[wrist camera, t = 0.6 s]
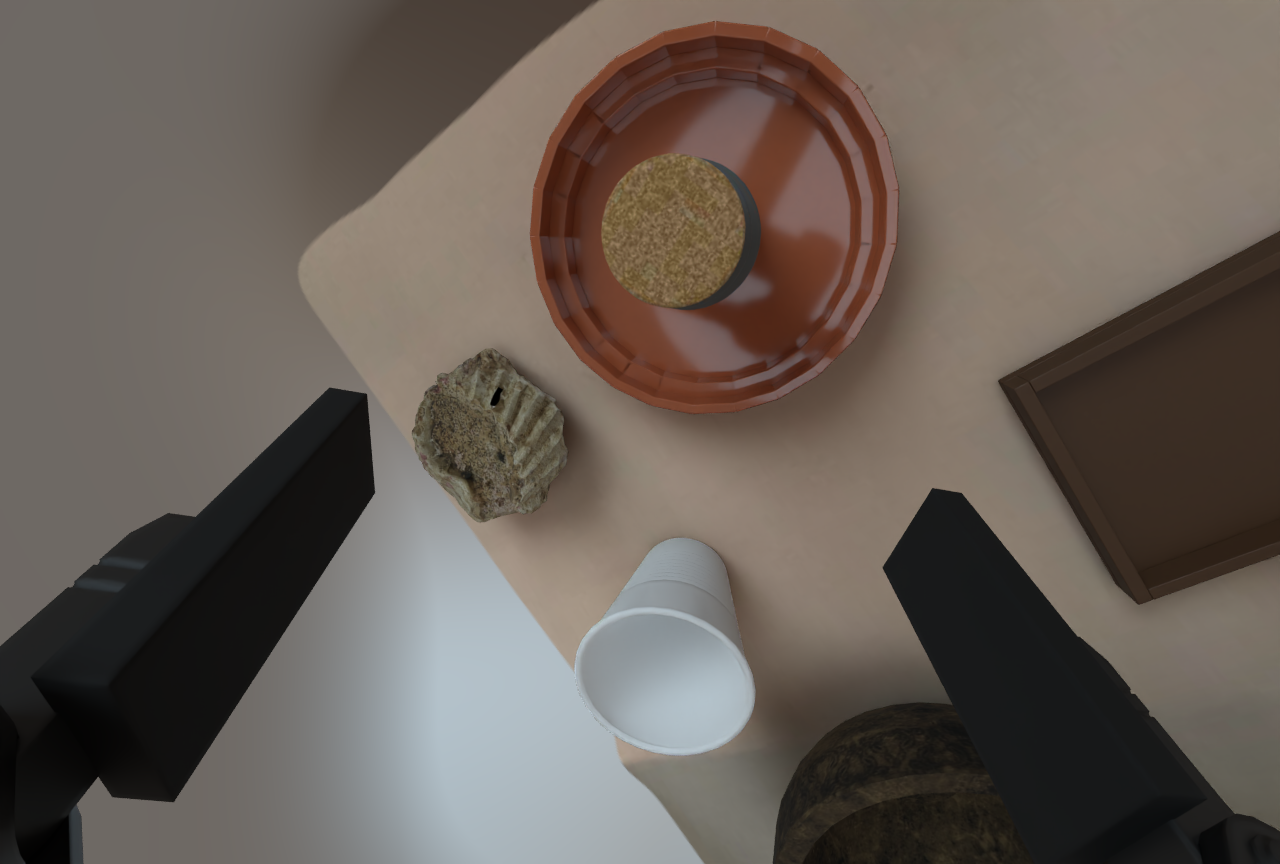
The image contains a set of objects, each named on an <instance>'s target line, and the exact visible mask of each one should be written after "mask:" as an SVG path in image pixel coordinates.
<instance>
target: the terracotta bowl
mask: <svg viewBox="0 0 1280 864" xmlns="http://www.w3.org/2000/svg"><path fill="white" fill-rule="evenodd" d="M668 153H680V154H687V155H691V156H695V157H699V158H704V159H708V160H711V161H714V162H717V163H720V164H722V165H723V166H725V167H727V168H728V169H730V170H731V171H733V172H734V173H735V174H736V175H737V176H738V177H739V178H740V179H741V180H742V181H743V182H744V183H745V185H746V186H747V188H748V189H749V191H750V192H751V194H752V196H753V198H754V200H755V203H756V205H757V208H758V212H759V216H760V223H761V240H760V247H759V251H758V255H757V258H756V261H755V263H754V266H753V268H752V269H751V271H750V273H749V274H748V276H747V277H746V279H745V280H744V282H743V283H742V284H741V285H740V287H738V288H737V289H736V290H735V291H734V292H733V293H732V294H731V295H729V296H728V297H727V298H725V299H724V300H722V301H720V302H718V303H716V304H713V305H711V306H708V307H705V308H701V309H695V310H679V309H673V308H664V307H658V306H654V305H651V304H648V303H645V302H643V301H641V300H639V299H637V298H636V297H634V296H633V295H632V294H630V293H629V292H628V291H627V290H625V289H624V288H623V287H622V286H621V284H620V283H619V282H618V281H617V279H616V278H615V277H614V275H613V273H612V272H611V270H610V268H609V265H608V263H607V261H606V258H605V254H604V250H603V245H602V235H601V231H602V220H603V215H604V211H605V207H606V204H607V202H608V199H609V197H610V195H611V193H612V192H613V190H614V188H615V187H616V185H617V183H618V182H619V181H620V180H621V179H622V178H623V177H624V176H625V175H626V174H627V173H628V172H629V171H630V170H631V169H632V168H633V167H635V166H636V165H638V164H640V163H641V162H643V161H645V160H647V159H649V158H652V157H656V156H659V155H664V154H668ZM898 189H899V185H898V181H897V177H896V172H895V168H894V164H893V160H892V155H891V151H890V147H889V143H888V138H887V135H886V133H885V131H884V130H883V128H882V126H881V124H880V123H879V121H878V119H877V117H876V116H875V114H874V112H873V110H872V109H871V107H870V105H869V103H868V102H867V100H866V98H865V96H864V95H863V93H862V91H861V89H860V88H858V85H857V84H855V83H854V82H853V81H852V80H851V79H850V78H849V77H848V76H847V75H846V74H845V73H844V72H842V71H841V70H840V69H839V68H838V67H837V66H836V65H835V64H834V63H833V62H832V61H831V60H829V59H828V58H827V57H826V56H825V55H824V54H823V53H822V52H821V51H819V50H818V49H817V48H814V47H812V46H810V45H808V44H806V43H803V42H801V41H799V40H797V39H795V38H792V37H790V36H788V35H786V34H784V33H781V32H779V31H777V30H775V29H773V28H771V27H765V26H756V25H747V24H738V23H729V22H720V21H716V22H715V21H713V22H708V23H703V24H698V25H693V26H688V27H683V28H678V29H673V30H668V31H664V32H663V33H659V34H657V35H656V36H654V37H652V38H650V39H648V40H646V41H644V42H642V43H641V44H639V45H637V46H635V47H633V48H631V49H629V50H628V51H626V52H624V53H622V54H620V55H618V56H616V58H614V59H613V60H612V61H611V62H609V63H608V64H607V65H606V66H605V67H604V68H603V69H602V70H601V71H600V72H599V73H598V74H597V75H596V76H595V77H594V78H593V79H592V80H591V81H590V82H589V83H588V84H587V85H585V86H584V87H583V88H582V89H581V90H580V91H579V92H578V93H577V95H575V97H574V99H573V100H572V102H571V104H570V105H569V107H568V108H567V110H566V112H565V113H564V115H563V117H562V118H561V120H560V121H559V123H558V125H557V126H556V128H555V130H554V131H553V133H552V134H551V136H550V138H549V140H548V144H547V147H546V150H545V153H544V156H543V159H542V162H541V165H540V169H539V172H538V175H537V178H536V181H535V184H534V188H533V202H532V215H531V228H530V240H531V246H532V252H533V259H534V265H535V271H536V278H537V282H538V285H539V288H540V290H541V293H542V295H543V298H544V300H545V302H546V305H547V307H548V310H549V312H550V315H551V317H552V319H553V322H554V324H555V326H556V327H557V328H558V330H559V331H560V332H561V334H562V335H563V337H564V338H565V339H566V341H567V342H568V343H569V345H570V346H571V348H572V349H573V350H574V352H575V353H576V355H577V356H578V357H579V359H581V361H583V362H584V363H585V364H586V365H587V366H588V367H590V368H591V369H592V370H593V371H594V372H596V373H597V374H598V375H599V376H600V377H601V378H603V379H604V380H605V381H606V382H607V383H609V384H610V385H611V386H613V387H614V388H616V389H618V390H620V391H622V392H624V393H626V394H628V395H630V396H632V397H634V398H636V399H638V400H640V401H642V402H644V403H646V404H649V405H651V406H655V407H660V408H665V409H670V410H675V411H679V412H684V413H689V414H692V413H693V414H707V413H728V412H738V411H741V410H745V409H748V408H751V407H755V406H758V405H761V404H764V403H768V402H771V401H774V400H778V399H780V398H782V397H783V396H785V395H787V394H788V393H790V392H792V391H793V390H795V389H797V388H798V387H800V386H802V385H803V384H805V383H807V382H808V381H810V380H812V379H813V378H815V377H817V376H818V375H819V374H821V373H822V372H823V371H824V370H825V369H826V368H827V367H828V366H829V365H830V364H831V363H832V362H833V361H834V360H835V359H836V358H837V357H838V356H839V355H840V354H841V353H842V352H843V351H844V350H845V349H846V348H847V347H848V346H849V345H850V344H851V343H852V342H853V341H854V339H856V337H857V335H858V334H859V332H860V330H861V329H862V327H863V325H864V324H865V322H866V320H867V319H868V317H869V315H870V314H871V312H872V310H873V309H874V307H875V306H876V304H877V302H878V301H879V299H880V297H881V295H882V292H883V289H884V286H885V282H886V279H887V276H888V273H889V269H890V266H891V263H892V259H893V256H894V253H895V250H896V246H897V235H898V209H899V190H898Z"/></svg>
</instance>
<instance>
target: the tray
mask: <svg viewBox="0 0 1280 864" xmlns="http://www.w3.org/2000/svg"><path fill="white" fill-rule="evenodd" d="M998 382H999V384H1000V386H1001V387H1002V389H1003V391H1004V392H1005V394H1006V396H1007V398H1008V399H1009V401H1010V403H1011V404H1012V406H1013V408H1014V410H1015V411H1016V413H1017V415H1018V417H1019V418H1020V420H1021V422H1022V423H1023V425H1024V427H1025V429H1026V430H1027V432H1028V434H1029V435H1030V437H1031V439H1032V441H1033V442H1034V444H1035V446H1036V447H1037V449H1038V451H1039V453H1040V454H1041V456H1042V458H1043V459H1044V461H1045V463H1046V465H1047V466H1048V468H1049V470H1050V471H1051V473H1052V475H1053V477H1054V478H1055V480H1056V482H1057V483H1058V485H1059V487H1060V489H1061V490H1062V492H1063V494H1064V495H1065V497H1066V499H1067V501H1068V502H1069V504H1070V506H1071V508H1072V509H1073V511H1074V513H1075V514H1076V516H1077V518H1078V520H1079V521H1080V523H1081V525H1082V526H1083V528H1084V530H1085V532H1086V533H1087V535H1088V537H1089V538H1090V540H1091V542H1092V544H1093V545H1094V547H1095V549H1096V550H1097V552H1098V554H1099V556H1100V557H1101V559H1102V561H1103V562H1104V564H1105V566H1106V568H1107V569H1108V571H1109V573H1110V574H1111V576H1112V578H1113V580H1114V581H1115V583H1116V585H1117V586H1119V587H1120V588H1121V589H1122V590H1123V591H1124V592H1125V593H1126V594H1127V595H1128V596H1129V597H1130V598H1132V599H1133V600H1134V601H1135V602H1136V603H1137V604H1138V605H1140V604H1143V603H1145V602H1148V601H1151V600H1153V599H1157V598H1160V597H1162V596H1165V595H1168V594H1171V593H1174V592H1176V591H1179V590H1182V589H1185V588H1187V587H1190V586H1193V585H1196V584H1199V583H1201V582H1204V581H1207V580H1210V579H1213V578H1215V577H1218V576H1221V575H1224V574H1226V573H1229V572H1232V571H1235V570H1238V569H1240V568H1243V567H1246V566H1249V565H1252V564H1254V563H1257V562H1260V561H1263V560H1265V559H1268V558H1271V557H1274V556H1277V555H1279V554H1280V231H1279V232H1278V233H1276V234H1274V235H1272V236H1270V237H1268V238H1266V239H1264V240H1262V241H1261V242H1259V243H1257V244H1255V245H1253V246H1251V247H1249V248H1247V249H1245V250H1244V251H1242V252H1240V253H1238V254H1236V255H1234V256H1232V257H1230V258H1228V259H1227V260H1225V261H1223V262H1221V263H1219V264H1217V265H1215V266H1213V267H1211V268H1210V269H1208V270H1206V271H1204V272H1202V273H1200V274H1198V275H1196V276H1194V277H1193V278H1191V279H1189V280H1187V281H1185V282H1183V283H1181V284H1179V285H1178V286H1176V287H1174V288H1172V289H1170V290H1168V291H1166V292H1164V293H1162V294H1161V295H1159V296H1157V297H1155V298H1153V299H1151V300H1149V301H1147V302H1145V303H1144V304H1142V305H1140V306H1138V307H1136V308H1134V309H1132V310H1130V311H1128V312H1127V313H1125V314H1123V315H1121V316H1119V317H1117V318H1115V319H1113V320H1111V321H1110V322H1108V323H1106V324H1104V325H1102V326H1100V327H1098V328H1096V329H1094V330H1093V331H1091V332H1089V333H1087V334H1085V335H1083V336H1081V337H1079V338H1077V339H1076V340H1074V341H1072V342H1070V343H1068V344H1066V345H1064V346H1062V347H1060V348H1059V349H1057V350H1055V351H1053V352H1051V353H1049V354H1047V355H1045V356H1043V357H1042V358H1040V359H1038V360H1036V361H1034V362H1032V363H1030V364H1028V365H1026V366H1025V367H1023V368H1021V369H1019V370H1017V371H1015V372H1013V373H1011V374H1009V375H1008V376H1006V377H1004V378H1002V379H1000V380H998Z"/></svg>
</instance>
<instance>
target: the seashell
mask: <svg viewBox="0 0 1280 864" xmlns="http://www.w3.org/2000/svg"><path fill="white" fill-rule="evenodd" d="M435 382H436V384H437V385H433V386H432V387H430V388H429V389H428V390H427V391H426V392H425V393H424V400H423V401H422V402H421V404H420V406H419V408H418V412H417V414H416V419H415V427H414V429H413V430H412V437H413V440H414V442H415V450H416V452H417V454H418V456H419V460H420V461H421V462H422V464H423V467H424V469H425V470H426V471H428V472H429V474H430V476H431V477H433V478H434V479H435V480H437V481H438V483H439V484H440V485H441V486H442V487H443V488H444V489H445V490H446V491H447V492H449V493H450V494H451V495H452V496H453V497H455V498H456V500H457V502H458V503H459V505H460V506H461V507H462V508H463V509H464V510H465V511H466V512H467V514H468V515H469V516H470V517H471V518H473V519H474V520H475V521H477V522H486V521H488V520H490V519H494V518H497V517H500V516H503V515H508V514H512V513H517V512H520V513H522V514H527V513H533V512H534V511H536V510H537V509H538V508H540V506H541V505H542V504H543V503H544V502H546V501H547V493H548V490H549V484H550V483H551V482H552V481H553V480H554V479H555V478H556V477H557V476H558V474H559V473H560V471H561V470H562V468H563V467H564V466H565V465H566V463H567V457H568V449H567V447H566V446H565V445H564V439H563V434H562V431H563V424H564V417H563V413H562V411H561V410H560V409H559V408H558V407H557V405H556V404H555V402H556V400H555V399H554V398H552V397H551V396H549V395H548V394H546V393H544V392H543V391H541V390H540V389H539V388H538V387H536V386H534V385H533V384H532V383H531V382H530V381H529V380H527V379H526V378H525V377H524V376H523V375H521V376H519V375H518V374H517V373H516V370H515V369H514V368H513V367H512V365H511V363H510V361H509V360H508V359H507V358H505V357H504V356H502V355H500V354H499V353H498V352H497V351H496V350H494V349H485V350H484V351H482V352H480V353H479V354H478V355H476V356H475V357H474V358H473V359H472V358H470V359H468V360H466V361H465V362H464V363H463V364H462V365H459V366H458V367H457V369H455V370H454V371H453V372H451V373H450V374H446V373H441V374H439V375H438V376H437V381H435Z"/></svg>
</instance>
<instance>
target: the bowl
mask: <svg viewBox="0 0 1280 864" xmlns="http://www.w3.org/2000/svg"><path fill="white" fill-rule="evenodd" d="M773 864H1034V862H1033V860H1032V858H1031V856H1030V854H1029V852H1028V850H1027V848H1026V846H1025V844H1024V842H1023V840H1022V838H1021V836H1020V834H1019V833H1018V831H1017V829H1016V827H1015V825H1014V823H1013V821H1012V819H1011V817H1010V815H1009V813H1008V811H1007V809H1006V807H1005V805H1004V803H1003V801H1002V799H1001V797H1000V796H999V794H998V792H997V790H996V788H995V786H994V784H993V782H992V780H991V778H990V776H989V774H988V772H987V770H986V768H985V766H984V764H983V762H982V760H981V759H980V757H979V755H978V753H977V751H976V749H975V747H974V745H973V743H972V741H971V739H970V737H969V735H968V733H967V731H966V729H965V727H964V725H963V723H962V722H961V720H960V718H959V716H958V714H957V712H956V710H955V708H954V706H953V705H948V704H934V703H910V704H900V705H891V706H887V707H883V708H879V709H875V710H871V711H867V712H865V713H862V714H860V715H858V716H856V717H853V718H851V719H849V720H847V721H844V722H843V723H842V724H840V725H839V726H837V727H836V728H834V729H833V730H832V731H830V732H829V733H827V734H826V735H825V736H824V737H823V738H822V739H821V740H820V741H819V742H818V743H817V744H816V745H815V746H814V748H813V749H812V750H811V751H810V752H809V753H808V754H807V755H806V756H805V757H804V758H803V760H802V761H801V762H800V764H799V766H798V768H797V770H796V771H795V773H794V775H793V777H792V779H791V781H790V783H789V785H788V787H787V789H786V792H785V794H784V796H783V798H782V800H781V804H780V809H779V814H778V818H777V825H776V835H775V845H774V856H773ZM1103 864H1108V862H1107V861H1106V862H1105V863H1103Z"/></svg>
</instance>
